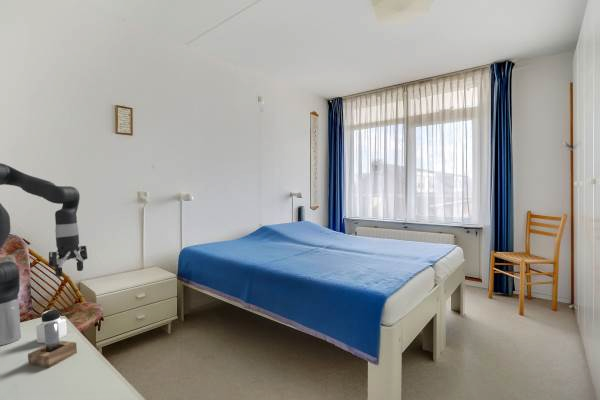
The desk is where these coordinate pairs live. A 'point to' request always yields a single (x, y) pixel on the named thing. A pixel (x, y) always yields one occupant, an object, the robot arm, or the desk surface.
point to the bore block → (52, 355)
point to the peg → (51, 336)
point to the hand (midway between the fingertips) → (70, 273)
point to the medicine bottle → (48, 318)
